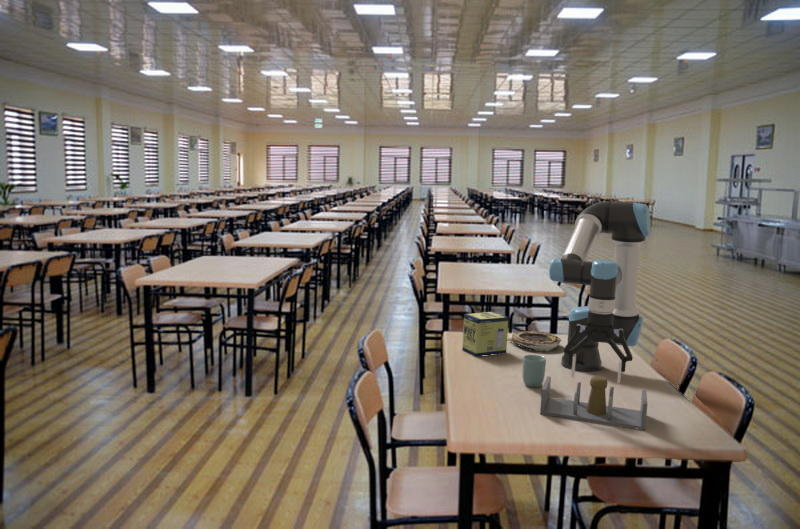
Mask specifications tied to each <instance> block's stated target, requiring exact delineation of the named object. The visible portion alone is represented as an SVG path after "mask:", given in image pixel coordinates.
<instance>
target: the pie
mask: <svg viewBox="0 0 800 529" xmlns="http://www.w3.org/2000/svg"><path fill="white" fill-rule="evenodd" d="M507 341H511V342H513V343H512V344H513V345H514V344H516V345H515V346H517V345H520V346H522V347H524V348H523V349H526V348H527V349H526V350H529V349H531V350H538V351H537V352H544V351H549V352H550V350H552V351H554V350H553V349H555V348H557V347H558V345H560V343H561V342H562V338H560V337H558V335H555V334H554V333H549V332H548V333H547V332H540V331H538V330H537V331H536V330H535V331H534V330H530V331H529V330H524V331H518V332H515V333H512V334H510V335H509V338H507ZM511 342H510V343H511ZM520 346H519V347H520ZM522 347H521V348H522ZM531 350H530V351H531ZM555 350H556V349H555Z"/></svg>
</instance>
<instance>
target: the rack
mask: <svg viewBox="0 0 800 529" xmlns="http://www.w3.org/2000/svg"><path fill="white" fill-rule="evenodd" d="M543 383H544V384H543V386H542V388H541V398H540V409H539V411H540V412H539V415H543V416H550V417H557V418H561V419H562V418H563V419H568V420H576V421H582V422H588V423H593V424H594V423H595V424H599V425H606V424H607V426H612V425H614V427H619V426H622V427H621V428H625V427H630V428H629V429H632V428H638V429H645V430H646V422H647V413H648V394H647V393H648V392H647V389H642V390H641V398H640V400H641V401H640V410H638V409H631V408H624V407H619V406H618V407H617V406H613V403H614V390H615V386H609V394H608V404H607V405H606V414H605V415H593V414H590V413H588V412H587V411H586V409H587V405H588V402H583V401H581V389H582V388H581V387H582V382H580V381H577V382H576V391H574V395H573V400H571V399H570V400H569V399H564V398H563V399H562V398H556V397H551V383H552V376H549V375H548V376H546V379H545V381H544V382H543ZM638 429H637V430H638Z"/></svg>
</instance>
